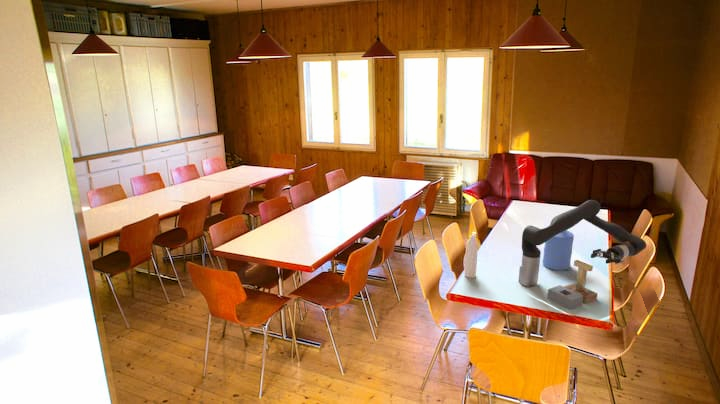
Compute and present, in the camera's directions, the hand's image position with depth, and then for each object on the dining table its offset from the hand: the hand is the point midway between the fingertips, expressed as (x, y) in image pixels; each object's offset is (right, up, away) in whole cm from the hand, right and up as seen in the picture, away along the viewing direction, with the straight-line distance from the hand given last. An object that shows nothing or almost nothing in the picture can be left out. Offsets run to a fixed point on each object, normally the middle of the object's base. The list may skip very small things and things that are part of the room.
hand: (598, 258), depth 251 cm
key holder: (-21, -22, -6) cm, 31 cm away
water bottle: (-61, -13, +27) cm, 68 cm away
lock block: (-11, -20, -1) cm, 23 cm away
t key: (-11, -19, -1) cm, 22 cm away
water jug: (-6, -9, +39) cm, 41 cm away
